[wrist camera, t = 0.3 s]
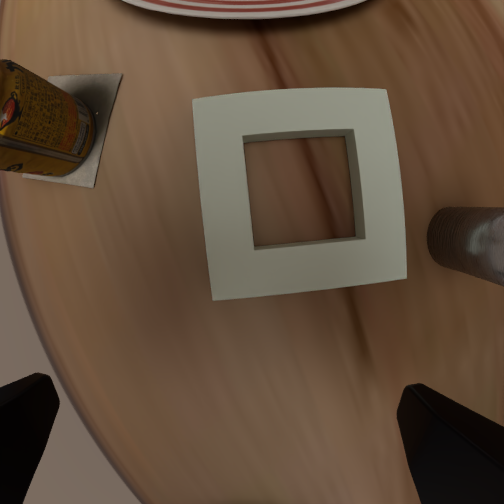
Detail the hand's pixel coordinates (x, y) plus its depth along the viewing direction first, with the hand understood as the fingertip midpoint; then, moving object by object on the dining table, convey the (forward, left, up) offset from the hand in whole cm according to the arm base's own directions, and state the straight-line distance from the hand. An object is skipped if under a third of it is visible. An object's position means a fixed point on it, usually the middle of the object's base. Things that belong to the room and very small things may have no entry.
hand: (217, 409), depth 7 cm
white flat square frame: (+5, -4, -14) cm, 15 cm away
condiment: (+12, +12, -14) cm, 22 cm away
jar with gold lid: (+1, -15, -14) cm, 21 cm away
